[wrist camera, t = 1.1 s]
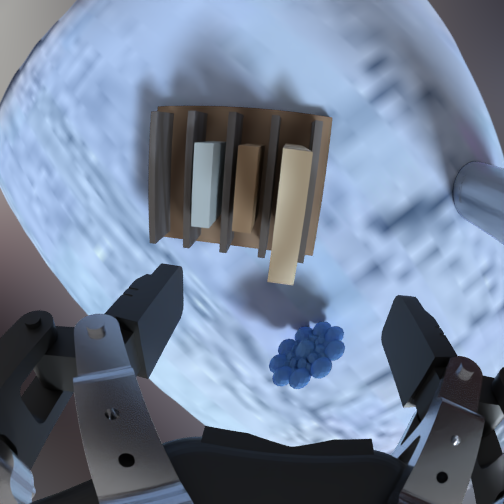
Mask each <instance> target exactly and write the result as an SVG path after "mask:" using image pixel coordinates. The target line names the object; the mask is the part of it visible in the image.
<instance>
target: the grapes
mask: <svg viewBox="0 0 504 504" xmlns="http://www.w3.org/2000/svg"><path fill="white" fill-rule="evenodd" d="M343 335H344V332H343V329H342V328H340V327H338V326H334V327H331V325H330V324H329V323H328V322H319V323H317V324H316V325H315V327H314V328H313V329H311V328H310V327H301V328H299V330H298V331H297V332H296V334H295V341H294V340H293V339H286V340H283V341H282V342H281V344H280V346H279V349H278V352H279V355H276V356H274V357H273V358H272V359H271V361H270V364H269V368H270V371H272V372H273V373H274V374H273V378H272V379H273V383H274V384H276V385H277V386H285V385H287V384H288V383H289V384H290V386H291V387H293V388H294V389H300V388H303V387H304V386H306V385H307V384H308V382H309V381H310V378H311V376H313V377H314V378H323V377H325V376H326V375H328V374H329V372H330V370H331V368H332V363H331V360H332V361H334V360H337V359H339V358H340V357H341V356H342V355H343V353H344V350H345V346H344V343H343V342H341V340H342V338H343Z"/></svg>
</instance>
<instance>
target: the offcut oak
mask: <svg viewBox="0 0 504 504" xmlns="http://www.w3.org/2000/svg"><path fill="white" fill-rule="evenodd" d="M264 146H265V145H259V144H242V145H238V156H237V168H236V181H235V194H234V208H233V222H232V231H235V232H243V233H251V231H252V229H253V226H254V224H255V221H256V219H257V216H258V207H259V197H260V187H261V177H262V166H263V156H264Z"/></svg>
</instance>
